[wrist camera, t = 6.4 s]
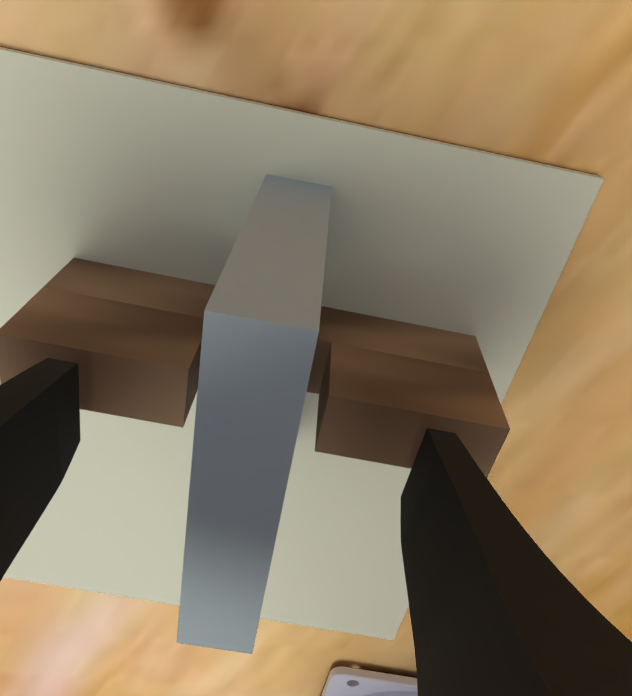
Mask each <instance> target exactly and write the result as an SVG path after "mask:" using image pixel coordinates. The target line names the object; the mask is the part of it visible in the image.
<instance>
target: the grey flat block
mask: <svg viewBox="0 0 632 696" xmlns="http://www.w3.org/2000/svg"><path fill="white" fill-rule="evenodd" d="M331 189H332V187H331V186H325V185H320V184H315V183H310V182H304V181H299V180H294V179H289V178H283V177H278V176H273V175H268V174H266V176H265V178H264V180H263V182H262V185H261V187H260V189H259V191H258V193H257V196H256V198H255V200H254V202H253V204H252V207H251V209H250V211H249V213H248V215H247V218H246V220H245V222H244V224H243V226H242V229H241V231H240V233H239V235H238V237H237V240H236V242H235V244H234V246H233V248H232V251H231V253H230V255H229V257H228V259H227V262H226V264H225V266H224V268H223V270H222V273H221V275H220V277H219V279H218V281H217V283H216V286H215V288H214V290H213V292H212V294H211V297H210V299H209V301H208V303H207V305H206V308H205V310H204V319H203V331H202V343H201V355H200V367H199V379H198V391H197V403H196V415H195V427H194V439H193V451H192V463H191V475H190V487H189V499H188V511H187V523H186V535H185V547H184V559H183V571H182V583H181V595H180V607H179V619H178V631H177V643H181V644H188V645H195V646H202V647H208V648H215V649H222V650H229V651H236V652H242V653H249V654H252V652H253V647H254V643H255V638H256V633H257V628H258V623H259V618H260V614H261V609H262V604H263V599H264V594H265V589H266V585H267V580H268V575H269V570H270V565H271V560H272V556H273V551H274V546H275V541H276V536H277V531H278V527H279V522H280V517H281V512H282V507H283V502H284V498H285V493H286V488H287V483H288V478H289V473H290V469H291V464H292V459H293V454H294V449H295V444H296V440H297V435H298V430H299V425H300V420H301V415H302V411H303V406H304V401H305V396H306V391H307V386H308V382H309V377H310V372H311V367H312V362H313V357H314V353H315V348H316V343H317V338H318V333H319V325H320V314H321V302H322V291H323V280H324V268H325V257H326V246H327V234H328V223H329V212H330V200H331Z"/></svg>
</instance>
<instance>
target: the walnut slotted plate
mask: <svg viewBox="0 0 632 696" xmlns="http://www.w3.org/2000/svg"><path fill="white" fill-rule="evenodd" d="M215 286H216V285H212V284H206V283H201V282H196V281H191V280H186V279H181V278H176V277H171V276H166V275H160V274H155V273H150V272H145V271H140V270H135V269H130V268H125V267H119V266H114V265H109V264H104V263H99V262H94V261H89V260H84V259H79V258H73V259H72V260H71V261H70V262H69V263H68V264H66V265H65V266H64V267H63V268H62V269H61V270H60V271H59V272H58V273H57V274H56V275H55V276H54V277H53V278H52V279H51V280H50V281H49V282H48V283H47V284H46V285H45V286H44V287H43V288H42V289H41V290H39V291H38V292H37V293H36V294H35V295H34V296H33V297H32V298H31V299H30V300H29V301H28V302H27V303H26V304H25V305H24V306H23V307H22V308H21V309H20V310H19V311H18V312H17V313H16V314H15V315H14V316H12V317H11V318H10V319H9V320H8V321H7V322H6V323H5V324H4V325H3V326H2V327H1V328H0V382H1V384H3V383H4V382H6V381H8V380H9V379H11V378H13V377H15V376H16V375H18V374H20V373H21V372H23V371H25V370H27V369H28V368H30V367H32V366H34V365H35V364H37V363H39V362H41V361H43V360H45V359H46V358H52V359H58V360H63V361H68V362H74V363H78V369H79V404H80V409H82V410H88V411H93V412H99V413H105V414H110V415H116V416H121V417H127V418H132V419H138V420H143V421H149V422H154V423H160V424H166V425H171V426H177V427H182V428H183V427H184V424H185V422H186V419H187V416H188V414H189V411H190V408H191V406H192V403H193V401H194V398H195V395H196V393H197V390H198V379H199V367H200V355H201V343H202V331H203V319H204V310H205V308H206V305H207V303H208V301H209V299H210V297H211V294H212V292H213V290H214V288H215ZM306 392H310V393H316V394H319V400H318V414H317V427H316V441H315V452H321V453H327V454H332V455H338V456H343V457H349V458H354V459H360V460H365V461H371V462H377V463H382V464H388V465H393V466H399V467H404V468H410V469H411V468H412V466H413V463H414V461H415V458H416V455H417V453H418V450H419V448H420V445H421V442H422V440H423V437H424V434H425V432H426V429H427V428H431V429H436V430H442V431H447V432H452V433H456V434H457V436H458V437H459V439H460V440H461V442H462V443H463V444H464V446H465V447H466V449H467V450H468V452H469V453H470V455H471V456H472V458H473V459H474V461H475V462H476V464H477V465H478V466H479V468H480V469H481V471H482V472H483V474H484V475H485V477H486V478H487V476H488V474H489V472H490V470H491V468H492V466H493V464H494V462H495V459H496V457H497V455H498V453H499V451H500V449H501V447H502V445H503V443H504V441H505V439H506V437H507V434H508V432H509V430H510V428H509V425H508V423H507V420H506V417H505V415H504V412H503V409H502V406H501V404H500V401H499V398H498V396H497V393H496V390H495V387H494V385H493V382H492V379H491V377H490V374H489V371H488V369H487V366H486V363H485V360H484V358H483V355H482V352H481V350H480V347H479V344H478V341H477V339H476V336H472V335H467V334H462V333H457V332H452V331H447V330H442V329H437V328H432V327H426V326H421V325H416V324H411V323H406V322H401V321H396V320H391V319H385V318H380V317H375V316H370V315H365V314H360V313H355V312H350V311H345V310H339V309H334V308H329V307H324V306H321V314H320V325H319V333H318V338H317V343H316V348H315V353H314V357H313V362H312V367H311V372H310V377H309V382H308V386H307V391H306Z"/></svg>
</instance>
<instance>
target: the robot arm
mask: <svg viewBox="0 0 632 696" xmlns="http://www.w3.org/2000/svg"><path fill="white" fill-rule="evenodd" d="M80 440H81V439H80V404H79V369H78V363H74V362H68V361H63V360H58V359H52V358H46V359H45V360H43V361H41V362H39V363H37V364H35V365H34V366H32V367H30V368H28V369H27V370H25V371H23V372H21V373H20V374H18V375H16V376H15V377H13V378H11V379H9V380H8V381H6V382H4V383H3V384H1V385H0V581H1V579H2V578H3V576H4V574H5V573H6V571H7V570H8V568H9V566H10V565H11V563H12V562H13V560H14V559H15V557H16V555H17V554H18V552H19V551H20V549H21V547H22V546H23V544H24V543H25V541H26V539H27V538H28V536H29V535H30V533H31V531H32V530H33V528H34V527H35V525H36V523H37V522H38V520H39V519H40V517H41V515H42V514H43V512H44V511H45V509H46V507H47V506H48V504H49V502H50V501H51V499H52V498H53V496H54V494H55V493H56V491H57V489H58V488H59V486H60V484H61V483H62V480H63V478H64V476H65V474H66V472H67V470H68V468H69V465H70V463H71V461H72V459H73V456H74V454H75V452H76V450H77V447H78V445H79V443H80ZM400 524H401V548H402V556H403V564H404V572H405V579H406V587H407V594H408V601H409V609H410V616H411V624H412V631H413V638H414V646H415V656H416V667H417V678H413V677H407V676H400V675H394V674H388V673H381V672H375V671H369V670H362V669H356V668H350V667H343V666H339V667H335V668H333V669H332V670H331V671H330V673H329V676H328V679H327V681H326V684H325V687H324V689H323V692H322V695H321V696H632V642H631V641H630V640H629V639H627V638H626V637H625V636H624V635H623V634H622V633H621V632H620V631H619V630H618V629H617V628H616V627H615V626H613V625H612V624H611V623H610V622H609V621H608V620H607V619H606V618H605V617H604V616H603V615H602V614H601V613H600V612H599V611H598V610H597V609H596V608H595V607H594V606H593V605H592V604H591V603H590V602H589V601H587V600H586V598H585V597H584V596H583V595H582V594H581V593H580V592H579V591H578V590H577V589H576V588H575V587H574V586H573V585H572V584H571V583H570V582H569V580H568V579H567V578H566V577H565V576H564V575H563V574H562V573H561V572H560V571H559V570H558V569H557V568H556V566H555V565H554V564H553V563H552V562H551V561H550V560H549V559H548V557H547V556H546V555H545V554H544V553H543V552H542V550H541V549H540V548H539V547H538V545H537V544H536V543H535V542H534V541H533V539H532V538H531V537H530V536H529V534H528V533H527V532H526V531H525V530H524V528H523V527H522V526H521V524H520V523H519V522H518V521H517V519H516V518H515V517H514V515H513V514H512V513H511V511H510V510H509V509H508V507H507V506H506V505H505V503H504V502H503V501H502V499H501V498H500V496H499V495H498V494H497V492H496V491H495V489H494V488H493V487H492V485H491V484H490V482H489V481H488V480H487V478H486V477H485V475H484V474H483V472H482V471H481V469H480V468H479V466H478V465H477V464H476V462H475V461H474V459H473V458H472V456H471V455H470V453H469V452H468V450H467V449H466V447H465V446H464V444H463V443H462V442H461V440H460V439H459V437H458V436H457V434H456V433H452V432H447V431H442V430H436V429H431V428H427V429H426V432H425V434H424V437H423V440H422V442H421V445H420V448H419V450H418V453H417V455H416V458H415V461H414V463H413V466H412V468H411V471H410V474H409V476H408V479H407V482H406V484H405V487H404V489H403V492H402V495H401V515H400Z"/></svg>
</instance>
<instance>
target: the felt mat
mask: <svg viewBox="0 0 632 696" xmlns="http://www.w3.org/2000/svg"><path fill="white" fill-rule="evenodd" d="M266 174H268V175H273V176H278V177H283V178H289V179H294V180H299V181H304V182H310V183H315V184H320V185H325V186H331V187H332V189H331V200H330V212H329V223H328V234H327V246H326V257H325V268H324V280H323V291H322V302H321V306H324V307H329V308H334V309H339V310H345V311H350V312H355V313H360V314H365V315H370V316H375V317H380V318H385V319H391V320H396V321H401V322H406V323H411V324H416V325H421V326H426V327H432V328H437V329H442V330H447V331H452V332H457V333H462V334H467V335H472V336H476V339H477V341H478V344H479V347H480V350H481V352H482V355H483V358H484V360H485V363H486V366H487V369H488V371H489V374H490V377H491V379H492V382H493V385H494V387H495V390H496V393H497V396H498V398H499V401H500V404H502V402H503V399H504V397H505V395H506V393H507V391H508V389H509V386H510V384H511V382H512V380H513V378H514V375H515V373H516V371H517V369H518V367H519V364H520V362H521V360H522V358H523V356H524V354H525V351H526V349H527V347H528V345H529V343H530V340H531V338H532V336H533V334H534V332H535V329H536V327H537V325H538V323H539V321H540V319H541V316H542V314H543V312H544V310H545V308H546V305H547V303H548V301H549V299H550V297H551V294H552V292H553V290H554V288H555V286H556V283H557V281H558V279H559V277H560V275H561V273H562V270H563V268H564V266H565V264H566V262H567V259H568V257H569V255H570V253H571V251H572V248H573V246H574V244H575V242H576V240H577V238H578V235H579V233H580V231H581V229H582V227H583V224H584V222H585V220H586V218H587V216H588V213H589V211H590V209H591V207H592V205H593V203H594V200H595V198H596V196H597V194H598V192H599V189H600V187H601V185H602V183H603V181H604V179H603V178H602V177H600V176H598V175H593V174H589V173H584V172H580V171H575V170H570V169H566V168H561V167H556V166H552V165H547V164H542V163H538V162H533V161H528V160H524V159H519V158H514V157H510V156H505V155H501V154H496V153H491V152H487V151H482V150H477V149H473V148H468V147H463V146H459V145H454V144H449V143H445V142H440V141H436V140H431V139H426V138H422V137H417V136H412V135H408V134H403V133H398V132H394V131H389V130H384V129H380V128H375V127H371V126H366V125H361V124H357V123H352V122H347V121H343V120H338V119H333V118H329V117H324V116H319V115H315V114H310V113H306V112H301V111H296V110H292V109H287V108H282V107H278V106H273V105H268V104H264V103H259V102H254V101H250V100H245V99H240V98H236V97H231V96H227V95H222V94H217V93H213V92H208V91H203V90H199V89H194V88H189V87H185V86H180V85H175V84H171V83H166V82H162V81H157V80H152V79H148V78H143V77H138V76H134V75H129V74H124V73H120V72H115V71H110V70H106V69H101V68H97V67H92V66H87V65H83V64H78V63H73V62H69V61H64V60H59V59H55V58H50V57H45V56H41V55H36V54H32V53H27V52H22V51H18V50H13V49H8V48H4V47H0V328H1V327H2V326H3V325H4V324H5V323H6V322H7V321H8V320H9V319H10V318H11V317H12V316H14V315H15V314H16V313H17V312H18V311H19V310H20V309H21V308H22V307H23V306H24V305H25V304H26V303H27V302H28V301H29V300H30V299H31V298H32V297H33V296H34V295H35V294H36V293H37V292H38V291H39V290H41V289H42V288H43V287H44V286H45V285H46V284H47V283H48V282H49V281H50V280H51V279H52V278H53V277H54V276H55V275H56V274H57V273H58V272H59V271H60V270H61V269H62V268H63V267H64V266H65V265H66V264H68V263H69V262H70V261H71V260H72V259H73V258H79V259H84V260H89V261H94V262H99V263H104V264H109V265H114V266H119V267H125V268H130V269H135V270H140V271H145V272H150V273H155V274H160V275H166V276H171V277H176V278H181V279H186V280H191V281H196V282H201V283H206V284H212V285H216V283H217V281H218V279H219V277H220V275H221V273H222V270H223V268H224V266H225V264H226V262H227V259H228V257H229V255H230V253H231V251H232V248H233V246H234V244H235V242H236V240H237V237H238V235H239V233H240V231H241V229H242V226H243V224H244V222H245V220H246V218H247V215H248V213H249V211H250V209H251V207H252V204H253V202H254V200H255V198H256V196H257V193H258V191H259V189H260V187H261V185H262V182H263V180H264V178H265V176H266ZM0 385H1V382H0ZM197 391H198V390H197ZM318 400H319V394H316V393H310V392H306V396H305V401H304V406H303V411H302V415H301V420H300V425H299V430H298V435H297V440H296V444H295V449H294V454H293V459H292V464H291V469H290V473H289V478H288V483H287V488H286V493H285V498H284V502H283V507H282V512H281V517H280V522H279V527H278V531H277V536H276V541H275V546H274V551H273V556H272V560H271V565H270V570H269V575H268V580H267V585H266V589H265V594H264V599H263V604H262V609H261V614H260V618H259V619H264V620H271V621H277V622H283V623H289V624H295V625H301V626H308V627H314V628H320V629H326V630H332V631H339V632H345V633H351V634H357V635H363V636H369V637H376V638H382V639H388V640H394V638H395V636H396V634H397V631H398V629H399V627H400V625H401V623H402V621H403V618H404V616H405V614H406V612H407V610H408V607H409V601H408V594H407V587H406V579H405V572H404V564H403V556H402V548H401V524H400V515H401V495H402V492H403V489H404V487H405V484H406V482H407V479H408V476H409V474H410V471H411V469H410V468H404V467H399V466H393V465H388V464H382V463H377V462H371V461H365V460H360V459H354V458H349V457H343V456H338V455H332V454H327V453H321V452H315V441H316V427H317V414H318ZM196 403H197V393H196V395H195V398H194V401H193V403H192V406H191V408H190V411H189V414H188V416H187V419H186V422H185V424H184V427H183V428H182V427H177V426H171V425H166V424H160V423H154V422H149V421H143V420H138V419H132V418H127V417H121V416H116V415H110V414H105V413H99V412H93V411H88V410H82V409H80V439H81V440H80V443H79V445H78V447H77V450H76V452H75V454H74V456H73V459H72V461H71V463H70V465H69V468H68V470H67V472H66V474H65V476H64V478H63V480H62V483H61V484H60V486H59V488H58V489H57V491H56V493H55V494H54V496H53V498H52V499H51V501H50V502H49V504H48V506H47V507H46V509H45V511H44V512H43V514H42V515H41V517H40V519H39V520H38V522H37V523H36V525H35V527H34V528H33V530H32V531H31V533H30V535H29V536H28V538H27V539H26V541H25V543H24V544H23V546H22V547H21V549H20V551H19V552H18V554H17V555H16V557H15V559H14V560H13V562H12V563H11V565H10V566H9V568H8V570H7V571H6V573H5V574H4V576H3V577H5V578H11V579H17V580H23V581H29V582H36V583H42V584H48V585H54V586H60V587H66V588H73V589H79V590H85V591H91V592H97V593H104V594H110V595H116V596H122V597H128V598H135V599H141V600H147V601H153V602H159V603H165V604H172V605H178V606H180V595H181V583H182V571H183V559H184V547H185V535H186V523H187V511H188V499H189V487H190V475H191V463H192V451H193V439H194V427H195V415H196Z"/></svg>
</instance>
